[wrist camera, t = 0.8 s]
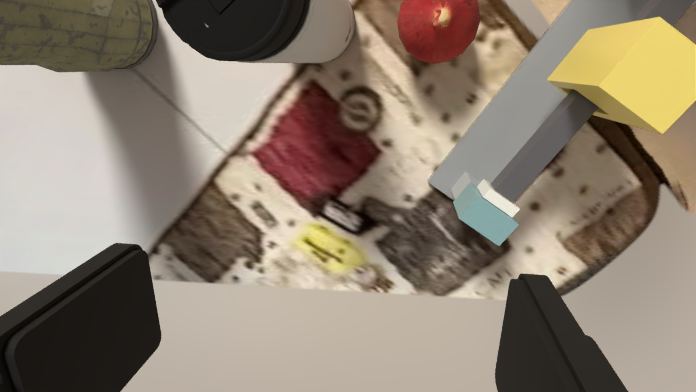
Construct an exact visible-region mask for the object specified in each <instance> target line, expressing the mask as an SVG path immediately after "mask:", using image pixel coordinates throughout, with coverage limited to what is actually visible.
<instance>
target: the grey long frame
mask: <svg viewBox="0 0 696 392" xmlns="http://www.w3.org/2000/svg"><path fill="white" fill-rule="evenodd" d="M691 5H696V0H570V1H569V3H568V4H567V5H566V7H565V8H564V9H563V10H562V12H561V13H560V14H559V15H558V17H557V18H556V19H555V20H554V22H553V23H552V24H551V25H550V27H549V28H548V29H547V31H546V32H545V33H544V34H543V36H542V37H541V38H540V39H539V41H538V42H537V43H536V44H535V46H534V47H533V48H532V49H531V51H530V52H529V53H528V54H527V56H526V57H525V58H524V59H523V61H522V62H521V63H520V65H519V66H518V67H517V68H516V70H515V71H514V72H513V73H512V75H511V76H510V77H509V78H508V80H507V81H506V82H505V83H504V85H503V86H502V87H501V88H500V90H499V91H498V92H497V93H496V95H495V96H494V97H493V99H492V100H491V101H490V102H489V104H488V105H487V106H486V107H485V109H484V110H483V111H482V112H481V114H480V115H479V116H478V117H477V119H476V120H475V121H474V122H473V124H472V125H471V126H470V128H469V129H468V130H467V131H466V133H465V134H464V135H463V136H462V138H461V139H460V140H459V141H458V143H457V144H456V145H455V146H454V148H453V149H452V150H451V151H450V153H449V154H448V155H447V157H446V158H445V159H444V160H443V162H442V163H441V164H440V165H439V167H438V168H437V169H436V170H435V172H434V173H433V174H432V175H431V177H430V178H429V179H428V183H430V184H431V185H433V186H434V187H435V188H437V189H438V190H440V191H441V192H443V193H444V194H445V195H447V196H448V197H450V198H451V199H453V200H454V202H453V203H454V206H455V209H456V212H457V215H458V217H459V219H460V220H462V221H463V222H465V223H466V224H468V225H469V226H470V227H472V228H473V229H475V230H476V231H478V232H479V233H480V234H482V235H483V236H485V237H486V238H488V239H489V240H491V241H492V242H493V243H495V244H496V245H498V246H500V245H501V244H502V243H503V242H504V241H505V239H506V238H507V237H508V236H509V235H510V234H511V233H512V232H513V231H514V230H515V229H516V228H517V227H518V226H519V224H518V222H517V221H516V220H515V218H514V217H513V216H514V215H515V214H516V213H517V212H518V211H519V210H520V209H519V207H518V206H517V205H516V204H515V202H514V201H515V200H516V199H517V198H518V196H519V195H520V194H521V193H522V192H523V191H524V190H525V189H526V188H527V187H528V185H529V184H530V183H531V182H532V181H533V180H534V179H535V178H536V177H537V175H538V174H539V173H540V172H541V171H542V170H543V169H544V168H545V167H546V165H547V164H548V163H549V162H550V161H551V160H552V159H553V158H554V157H555V156H556V154H557V153H558V152H559V151H560V150H561V149H562V148H563V147H564V146H565V144H566V143H567V142H568V141H569V140H570V139H571V138H572V137H573V136H574V134H575V133H576V132H577V131H578V130H579V129H580V128H581V127H582V126H583V125H584V123H585V122H586V121H587V120H588V119H589V118H590V117H591V116H592V115H593V113H594V112H595V111H596V110H597V109H598V108H599V107H598V106H597V105H595V104H594V103H592V102H591V101H590V100H588V99H587V98H586V97H584V96H583V95H582V94H580V93H579V92H578V91H576V90H575V89H572V90H571V91H570V92H569V93H568V95H566V94H564V93H563V92H562V91H560V90H559V89H558V88H556V87H555V86H554V85H552V84H551V83H550V82H548V81H547V79H548V77H549V76H550V75H551V74H552V73H553V71H554V70H555V69H556V68H557V67H558V65H559V64H560V63H561V62H562V61H563V59H564V58H565V57H566V56H567V55H568V53H569V52H570V51H571V50H572V48H573V47H574V46H575V45H576V44H577V42H578V41H579V40H580V39H581V38H582V36H583V35H584V34H585V33H586V32H587V30H590V29H595V28H601V27H606V26H611V25H617V24H622V23H628V22H633V21H639V20H644V19H650V18H655V17H661V18H662V19H663V20H665V21H666V22H667V23H669V24H670V25H671V26H673V25H674V24H675V23H676V22H677V20H678V19H679V18H680V17H681V16H682V15H683V14H684V13H685V12H686V11H687V9H688V8H689V7H690V6H691Z"/></svg>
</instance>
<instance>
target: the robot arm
mask: <svg viewBox="0 0 696 392" xmlns="http://www.w3.org/2000/svg"><path fill="white" fill-rule="evenodd" d="M160 341H161V330H160V325H159V318H158V313H157V307H156V301H155V295H154V289H153V283H152V277H151V272H150V266H149V260H148V255H147V253H146V252H145V251H144V250H142V248H141V247H140V246H139V245H136V244H123V243H115V244H113V245H111V246H110V247H108V248H106V249H105V250H103V251H102V252H100V253H99V254H97V255H95V256H94V257H92V258H91V259H89V260H88V261H86V262H85V263H83V264H81V265H80V266H78V267H77V268H75V269H74V270H72V271H70V272H69V273H67V274H66V275H64V276H63V277H61V278H60V279H58V280H56V281H55V282H53V283H52V284H50V285H49V286H47V287H46V288H44V289H42V290H41V291H39V292H38V293H36V294H35V295H33V296H31V297H30V298H28V299H27V300H25V301H24V302H22V303H21V304H19V305H17V306H16V307H14V308H13V309H11V310H10V311H8V312H6V313H5V314H3V315H2V316H0V392H120V391H121V390H122V389H123V387H124V386H125V385H126V384H127V383H128V382H129V381H130V380H131V378H132V377H133V376H134V375H135V374H136V373H137V371H138V370H139V369H140V368H141V367H142V365H143V364H144V363H145V362H146V361H147V360H148V358H149V357H150V356H151V355H152V354H153V353H154V352H155V350H156V349H157V348H158V346H159V344H160ZM495 379H496V386H497V390H498V392H628V391H627V389H626V388H625V386H624V385H623V383H622V382H621V380H620V379H619V377H618V376H617V374H616V373H615V371H614V370H613V368H612V367H611V365H610V364H609V362H608V360H607V359H606V357H605V356H604V354H603V353H602V351H601V350H600V349H599V347H598V345H597V344H596V342H595V341H594V340H593V339H592V338H591V337H589V336H587V335H585V334H584V333H583V331H582V329H581V328H580V326H579V325H578V323H577V322H576V320H575V318H574V317H573V315H572V314H571V312H570V311H569V309H568V307H567V306H566V304H565V303H564V301H563V300H562V298H561V296H560V295H559V293H558V292H557V290H556V289H555V287H554V285H553V284H552V282H551V281H550V279H549V278H548V277H547V276H546V275H534V274H520V275H519V277H518V279H511V281H510V284H509V289H508V296H507V302H506V308H505V314H504V320H503V326H502V333H501V339H500V345H499V351H498V357H497V363H496V370H495Z"/></svg>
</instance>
